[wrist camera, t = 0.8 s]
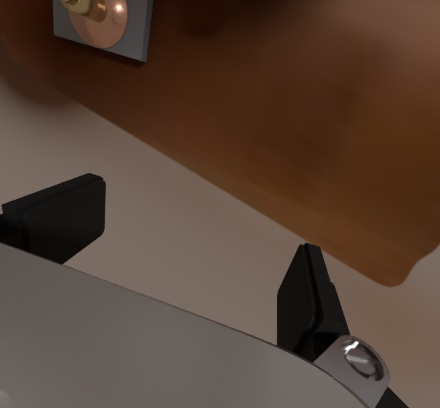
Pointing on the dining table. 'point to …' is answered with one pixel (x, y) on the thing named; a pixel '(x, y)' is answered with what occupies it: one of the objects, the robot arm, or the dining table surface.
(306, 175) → the dining table surface
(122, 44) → the board
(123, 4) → the hub
